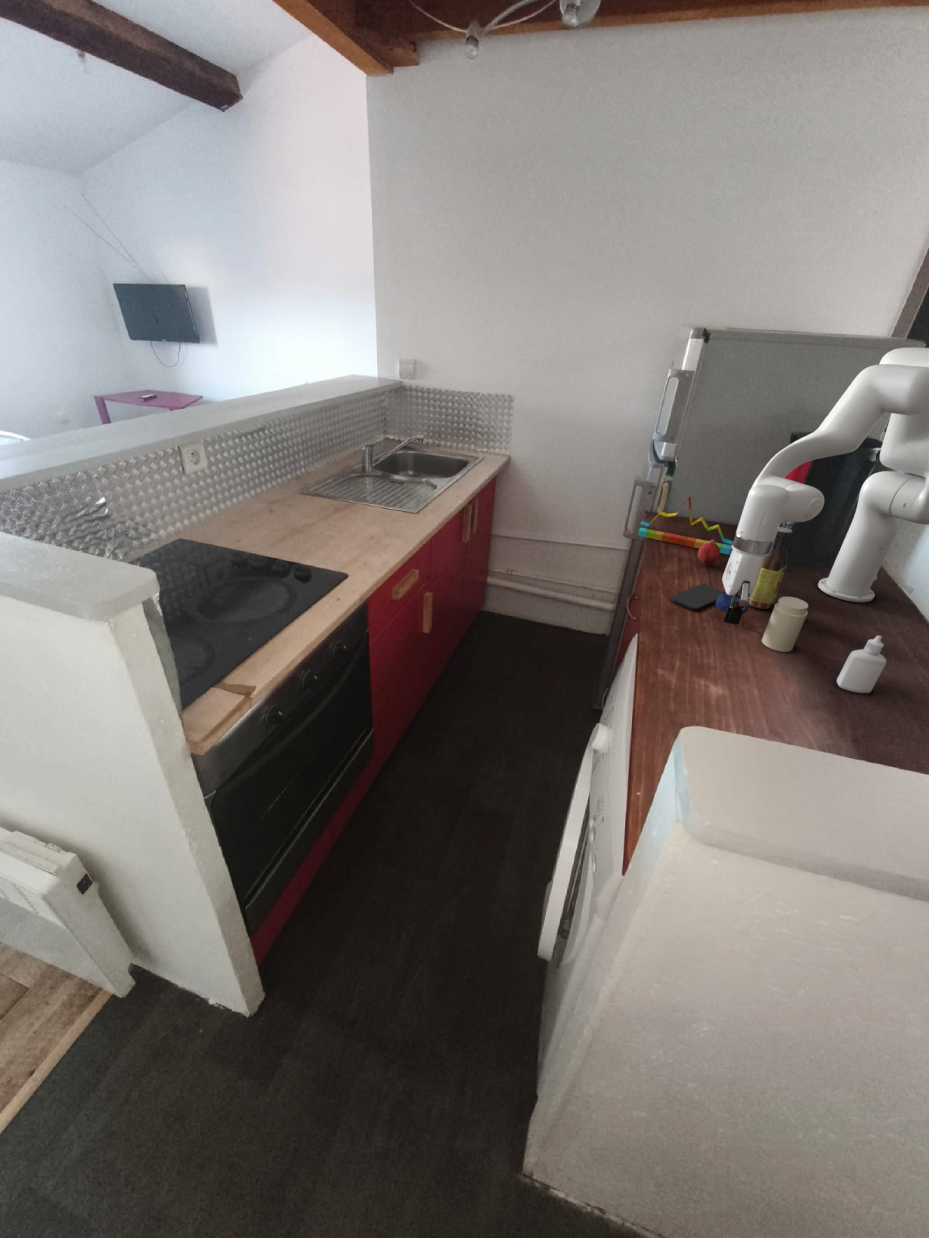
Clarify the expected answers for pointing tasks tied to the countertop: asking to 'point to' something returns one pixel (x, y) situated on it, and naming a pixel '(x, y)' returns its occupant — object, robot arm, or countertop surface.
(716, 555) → the onion
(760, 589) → the sauce bottle
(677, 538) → the chart
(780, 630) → the mayonnaise jar
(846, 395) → the robot arm
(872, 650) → the eye dropper bottle
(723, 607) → the jar lid
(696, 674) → the countertop surface
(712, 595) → the phone
